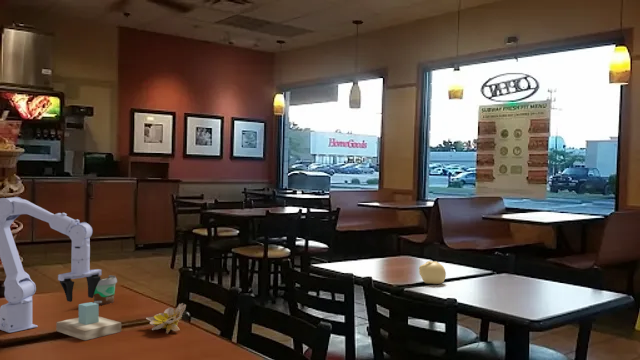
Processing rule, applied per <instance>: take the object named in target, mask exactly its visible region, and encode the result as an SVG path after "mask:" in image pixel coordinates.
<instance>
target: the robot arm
mask: <svg viewBox="0 0 640 360" xmlns="http://www.w3.org/2000/svg"><path fill="white" fill-rule="evenodd" d="M21 215H29V216H31V217H33V218H35V219H37V220H41V221H43V222H46V223H48V225H49V227H50V229H52V230H54V231H57V232H59V233H61V234H63V235H64V236H65V235H66V236H67V237H69V239H70V240H71V255H70V256H71V257H70V258H71V259H70V260H71V263H70V266H71V271H70V272H65V273H60V274H58V275H57V281H59V284H60V286H61V287H62V289H63V292H64V295H65V297H66V298H65V299H66V301H67V302H68V303H69V302H70V303H71V302H73V293H74V292H73V288H74V286H75V281H72V280H75V279H82V278H86V283H87V297H88V298H90V299H92V298H93V299H94V292H95V289H96V287H97V284H98V283H99V281H100V279H102V278H101V276H102V271H103V270H102V269H99V268H96V269H91V268H90V267H91V265H90V261H91V259H90V257H91V245H90V241H91V240H90V238H91V237H92V235H93V232H94V231H93V227H92V226H91V225H90V224H89V223H87V222H86V221H83V222H80V219H78V218H77V219H74V218H72V217H70V216H67V215H68V214H67V213H65V212H62V213H61V212H57V213H55V214H54V213H52V212H50V211H48V210H47V209H45V208H43V207H41V206H39V205H36V204H35V203H33V202H31V201H29V200H27V199H24V198H21V197H19V196H14V197H13V196H12V197H6V198H5V197H1V198H0V260H1V264H2V267H3V269H4V273H5V276H6V277H5V280H4V282H3V285H4V298H5V300H6V301H7V303H4V304H2V305H0V330H1V331H4V332H6V333H16V332H20V331H26V330H29V329H34V328H38V327H39V326H38V325H37V324H35V323H33V296H34V295H35V293H36V291H37V287H36V286H37V285H36V283H35V282H34V281H33V280H32V279H31V276H30V274H29V273H27V272H26V271H25V270H24V267H23V266H24V265H23V264H22V259H21V258H20V255H19V251H18V248H17V246H16V242H15V239H14V237H13V233H12V231H11V230H12V229H11V226H12V224H13V222H14V221H15V220H16V219H17V218H19V217H20V216H21Z"/></svg>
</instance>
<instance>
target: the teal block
mask: <svg viewBox="0 0 640 360" xmlns="http://www.w3.org/2000/svg"><path fill="white" fill-rule="evenodd" d="M99 307H100V305H99V304H97V303H94V301H93V302H92V301H91V302H83V303H79V304H78V318H79V323H82V324H85V325H87V324H92V323H97V322H99V317H100V316H99V315H100V314H99V313H100V310H99Z"/></svg>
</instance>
